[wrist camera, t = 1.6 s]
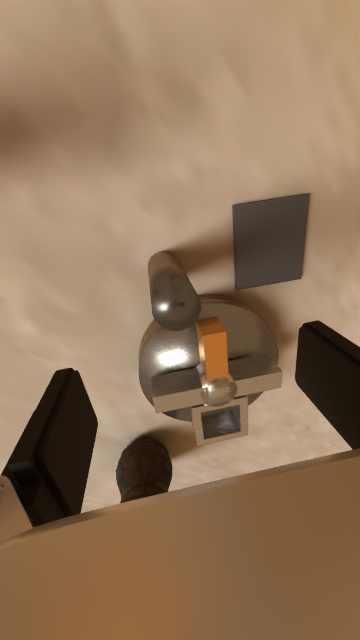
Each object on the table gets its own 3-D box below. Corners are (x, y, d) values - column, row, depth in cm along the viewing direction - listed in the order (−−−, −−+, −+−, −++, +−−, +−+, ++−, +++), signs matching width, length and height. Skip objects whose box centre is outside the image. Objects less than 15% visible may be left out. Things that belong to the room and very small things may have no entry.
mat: (232, 205, 22) (234, 205, 22) (306, 193, 23) (309, 193, 22) (235, 288, 26) (236, 290, 26) (299, 277, 26) (301, 278, 26)
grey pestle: (145, 254, 23) (147, 290, 14) (176, 249, 23) (198, 281, 14) (150, 284, 25) (156, 334, 16) (180, 279, 25) (203, 326, 16)
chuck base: (125, 308, 25) (123, 321, 23) (267, 283, 26) (281, 293, 24) (152, 413, 32) (153, 433, 29) (264, 390, 33) (274, 407, 30)
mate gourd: (169, 464, 37) (176, 548, 28) (116, 467, 36) (107, 556, 27) (172, 430, 34) (181, 513, 25) (115, 432, 33) (104, 520, 24)
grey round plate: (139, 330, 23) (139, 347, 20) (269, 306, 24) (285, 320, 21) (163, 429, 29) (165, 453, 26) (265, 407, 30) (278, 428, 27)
